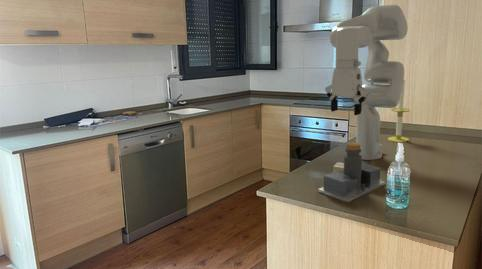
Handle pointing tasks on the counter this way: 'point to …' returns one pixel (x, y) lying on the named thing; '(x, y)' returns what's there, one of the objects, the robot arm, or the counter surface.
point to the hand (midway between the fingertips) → (345, 112)
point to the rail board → (351, 184)
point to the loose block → (339, 168)
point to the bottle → (353, 161)
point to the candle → (399, 118)
